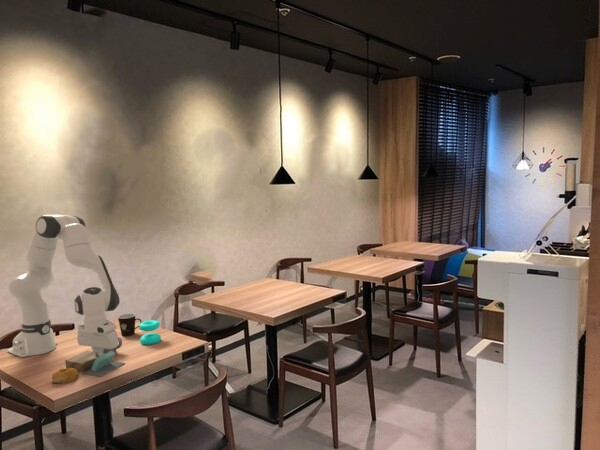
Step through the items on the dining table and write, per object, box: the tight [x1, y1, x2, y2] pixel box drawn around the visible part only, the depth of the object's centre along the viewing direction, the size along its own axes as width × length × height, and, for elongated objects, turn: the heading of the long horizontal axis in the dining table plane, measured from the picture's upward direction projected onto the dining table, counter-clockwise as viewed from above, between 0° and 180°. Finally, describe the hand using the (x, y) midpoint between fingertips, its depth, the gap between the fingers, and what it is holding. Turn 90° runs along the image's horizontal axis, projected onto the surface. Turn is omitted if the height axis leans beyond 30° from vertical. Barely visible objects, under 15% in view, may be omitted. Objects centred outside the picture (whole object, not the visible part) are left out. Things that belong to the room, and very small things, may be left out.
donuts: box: [138, 319, 162, 346], centre depth 236 cm, size 10×10×10 cm
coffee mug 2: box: [117, 313, 143, 338], centre depth 248 cm, size 12×9×10 cm
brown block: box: [64, 350, 106, 373], centre depth 209 cm, size 11×12×4 cm
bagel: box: [51, 367, 79, 385], centre depth 196 cm, size 10×11×5 cm
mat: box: [82, 360, 126, 378], centre depth 206 cm, size 10×14×1 cm
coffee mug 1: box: [97, 335, 123, 354], centre depth 222 cm, size 13×10×10 cm
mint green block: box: [91, 351, 116, 372], centre depth 205 cm, size 6×9×2 cm
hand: (98, 356), depth 206 cm, fingers closed
